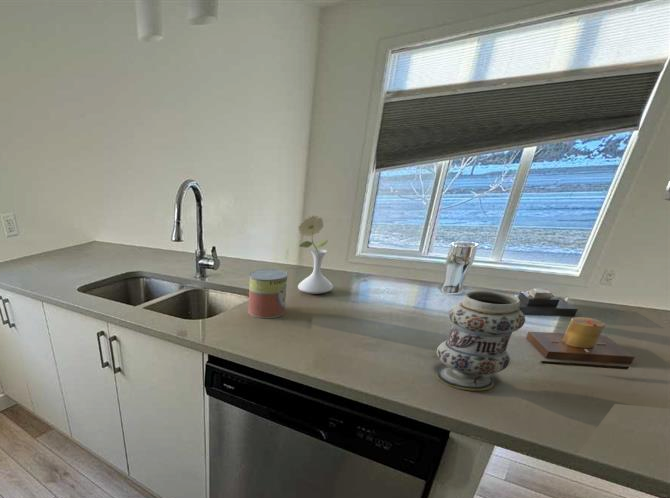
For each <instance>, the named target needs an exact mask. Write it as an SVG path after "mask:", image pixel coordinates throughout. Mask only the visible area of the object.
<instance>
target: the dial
mask: <svg viewBox="0 0 670 498" xmlns="http://www.w3.org/2000/svg"><path fill="white" fill-rule="evenodd" d="M605 326H606V323H605V322H604V321H602V320H600V319H597V318H593V317H592V318H591V317H585V316H575V317H571V320H570V321H569V323H568V326H567V328H566V330H565V332H564V333H565V335H564V337H563V339H562V342H564V343H565V344H567V345H570V346H574V347H580V348H591V347H594V346H595V344H596V342H597V340H598V338H599V336H600V335H602V334H601V333H602V332H603V329H604V328H605Z"/></svg>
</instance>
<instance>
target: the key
mask: <svg viewBox="0 0 670 498" xmlns="http://www.w3.org/2000/svg"><path fill="white" fill-rule="evenodd" d="M528 292H529V295H530V296H532V297H533V298H550V297H551V295H553V292H552V291H550V290H549V289H548V288H530V290H529V291H528Z"/></svg>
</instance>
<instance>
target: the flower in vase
mask: <svg viewBox="0 0 670 498" xmlns="http://www.w3.org/2000/svg"><path fill="white" fill-rule="evenodd" d="M323 221H324V220H323V218H322V217H319V216H318V215H311V216H310V215H309V216H307V218H304V219H303V220H302V221H301V222H300V224H299V225H298V227H297V228H298V231H299V234H300V235H301V236H306V237H311V241H309V240H305V241H303V242H301V243H300V244H299V245H298V247H301V248H307V249H308V248H310V247H311V246H313V247H314V249H312V250H311V251H310V253H311V254H312V257H313V270H312V273H311V274H310V275H308V276H307V277H306V278H304V279H303V280H301V281H300V282H299V284H298V285H297V288H298V290H299V291H300V292H302V293H304V294H305V293H306V294H311V295H319V294H326V293H328V292H330V291H332V290H333V287H334V286H333V284H332V283H331V281H330V280H329V279H327V278H326V277H325V276H324V275H323V273H322V272H321V271H322V262H323V259H324V256H325V255H326V253H328V250H326V249H319V248H322V247H324V246H325V245H326V244H327V243H328V241H329V238H327V239H326V240H323V241H321V242H320V241H319V243H317V245H316V244H315V242H314V238H313V237H314V235H316V234H319V233H320V231H322V229H323V228H324V222H323Z"/></svg>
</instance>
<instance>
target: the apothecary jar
mask: <svg viewBox="0 0 670 498" xmlns="http://www.w3.org/2000/svg"><path fill="white" fill-rule="evenodd" d="M515 296H516V295H512V294H509V293H503V292H499V291H491V290H474V291H473V290H472V291H469V292H467V293H466V294H465V295H464V298H463V300H462V301H460V302H458V303H456V304H455V305H453V306H452V307H451V308H450V310H449V311H448V318H449V320H450V322H452V326H451V329H450V332H449V335H448V337H447V339H446V340H445V341H443V342H441V343H440V344H439V345H438V347H437V348H436V356H437V358H438V359H439V361H440V362H441V363H442V364H443V365H444V366H446V367H443V368H440V369H439V370H438V371H436V375H435V376H436V378H437V379H438V380H439V381H440V382H441V383H443V384H444V385H447V386H449V387H452V388H455V389H458V390H462V391H463V390H464V391H470V392H481V391H482V392H483V391H487V390H490V389H492V388H493V387H494V384H495V383H494V380H493V379H492V378H491V376H489V375H493V374H497V373H499V372H502V371H503V370H505V369H506V368H507V367H508V366H509V365H510V363H511V356H510V354H509V352H508V351H507V347H508V344H509V342H510V339H511V337H512V334H513V333H514V332H516V331H519V330H520V329H521V328H522V327H523V326H524V325H525V323H526V317H525V316H526V315H524V314H523V313H522V312H521V311H520V307H519V306H520V300H519V299H518V298H517V297H515Z"/></svg>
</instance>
